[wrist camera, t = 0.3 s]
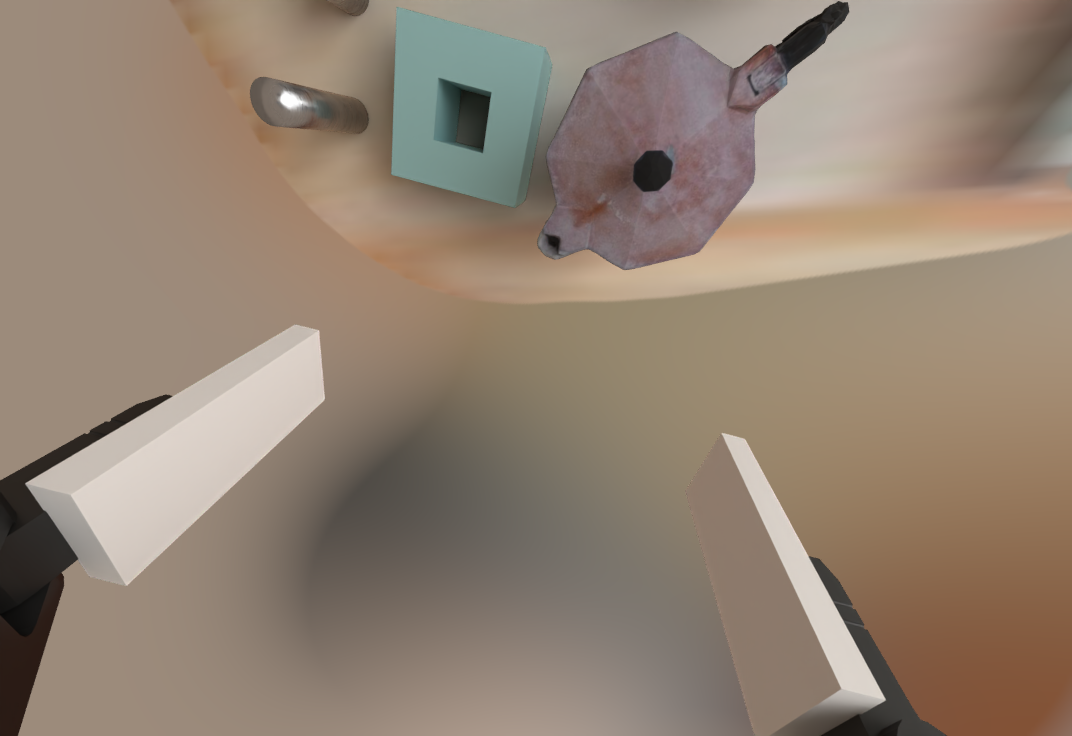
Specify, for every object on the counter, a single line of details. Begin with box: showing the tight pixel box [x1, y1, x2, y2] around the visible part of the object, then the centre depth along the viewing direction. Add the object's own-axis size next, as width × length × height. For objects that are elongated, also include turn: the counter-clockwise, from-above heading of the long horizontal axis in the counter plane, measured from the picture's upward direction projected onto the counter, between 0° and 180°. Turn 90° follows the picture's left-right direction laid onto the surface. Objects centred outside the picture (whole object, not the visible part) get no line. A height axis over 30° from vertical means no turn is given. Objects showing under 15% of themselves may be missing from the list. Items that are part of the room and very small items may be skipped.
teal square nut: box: [391, 7, 552, 208], centre depth 30 cm, size 10×10×6 cm
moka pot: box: [537, 1, 849, 270], centre depth 23 cm, size 10×15×20 cm, turn 134°
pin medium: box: [250, 77, 369, 133], centre depth 29 cm, size 3×3×10 cm
